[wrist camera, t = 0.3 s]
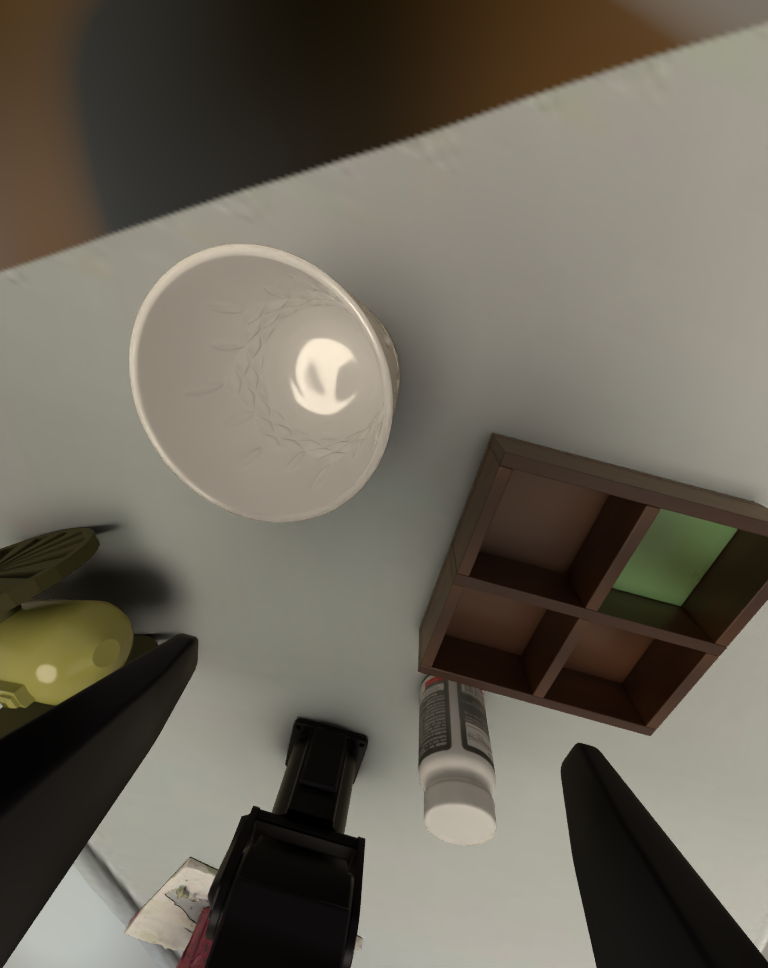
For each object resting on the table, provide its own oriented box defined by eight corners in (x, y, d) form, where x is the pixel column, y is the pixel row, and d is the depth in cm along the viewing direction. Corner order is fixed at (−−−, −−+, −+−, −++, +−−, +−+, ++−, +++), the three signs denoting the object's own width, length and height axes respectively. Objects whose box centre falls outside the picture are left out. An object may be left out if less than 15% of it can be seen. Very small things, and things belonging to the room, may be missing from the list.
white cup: (427, 309, 18) (424, 282, 9) (392, 455, 21) (363, 548, 12) (274, 273, 18) (116, 211, 9) (262, 424, 21) (135, 490, 12)
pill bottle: (421, 710, 29) (417, 845, 21) (418, 666, 27) (414, 796, 20) (481, 713, 28) (501, 854, 21) (483, 669, 27) (505, 805, 19)
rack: (622, 685, 26) (650, 737, 22) (419, 629, 26) (417, 672, 23) (757, 502, 20) (823, 536, 16) (492, 432, 20) (504, 451, 17)
